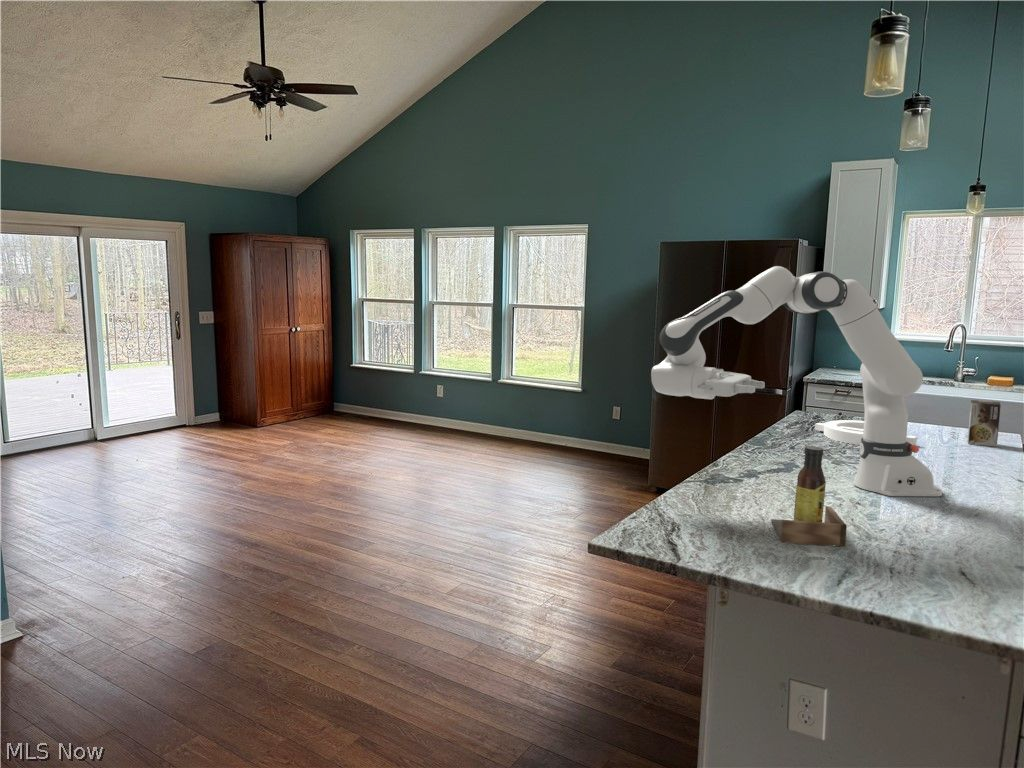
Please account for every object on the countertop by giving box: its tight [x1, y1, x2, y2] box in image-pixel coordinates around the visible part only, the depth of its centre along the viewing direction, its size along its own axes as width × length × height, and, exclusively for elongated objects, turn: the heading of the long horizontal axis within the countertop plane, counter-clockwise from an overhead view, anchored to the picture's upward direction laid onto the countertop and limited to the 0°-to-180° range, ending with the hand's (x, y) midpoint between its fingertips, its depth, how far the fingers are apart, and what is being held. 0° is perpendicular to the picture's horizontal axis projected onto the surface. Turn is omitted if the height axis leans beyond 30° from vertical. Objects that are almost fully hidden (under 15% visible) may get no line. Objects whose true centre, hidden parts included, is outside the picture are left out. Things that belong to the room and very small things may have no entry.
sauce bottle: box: [793, 445, 827, 522], centre depth 159 cm, size 6×6×20 cm
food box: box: [966, 399, 1002, 447], centre depth 251 cm, size 9×6×16 cm
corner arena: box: [770, 505, 847, 547], centre depth 159 cm, size 14×14×5 cm
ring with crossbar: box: [814, 419, 918, 446], centre depth 261 cm, size 28×28×5 cm
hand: (759, 387), depth 177 cm, fingers open, 8 cm apart
